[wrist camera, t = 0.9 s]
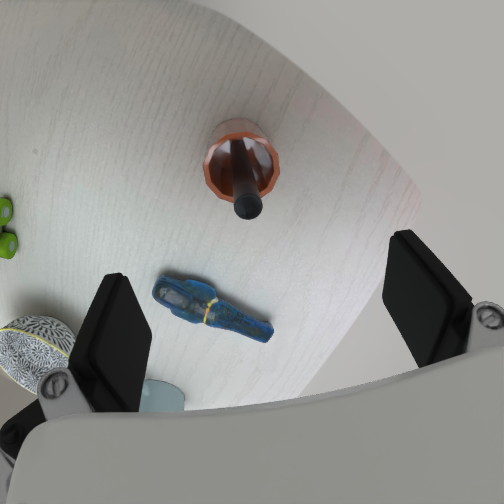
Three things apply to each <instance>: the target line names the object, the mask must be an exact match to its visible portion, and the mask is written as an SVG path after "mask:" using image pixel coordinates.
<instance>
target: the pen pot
mask: <svg viewBox="0 0 504 504" xmlns="http://www.w3.org/2000/svg"><path fill="white" fill-rule="evenodd" d="M236 140H240V141H242V142H244V143H245V145H246V149H247V152H248V156H249V159H250V163H251V166H252V170H253V173H254V177H255V180H256V184H257V187H258V191H259V193H260V197H261V198H262V197H263V196H264V195H266V194H267V193H269V192H270V191H271V190H272V189H273V187H274V185H275V182H276V180H277V178H278V176H279V174H280V169H279V159H278V154H277V152H276V150H275V149H274V147H273V146H272V144H271V143H270V141H269V140H268V138H267V137H266V135H265V134H264V133H263V131H262V130H261V129H260V128H259V126H258V125H257V124H255V123H253V122H251V121H249V120H246V119H231V120H227V121H225V122H223V123H221V124H220V125H219V126H218V127H216V129H215V130H213V132H212V134H211V137H210V140H209V142H208V145H207V149H206V153H205V157H204V162H203V170H204V176H205V181H206V184H207V186H208V187H209V188H210V189H211V190H212V191H213V192H214V193H215V194H216V196H217V197H218V198H220V199H223V200H226V201H229V202H232V203H234V201H233V183H232V170H231V156H230V145H231V143H232V142H234V141H236Z"/></svg>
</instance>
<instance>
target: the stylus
mask: <svg viewBox="0 0 504 504" xmlns="http://www.w3.org/2000/svg"><path fill="white" fill-rule="evenodd" d="M230 156H231V170H232V183H233V201H234V211H235V213H236V214H237V215H238V216H239V217H240V218H242V219H246V220H250V219H254V218H256V217H257V216H258V215H259V214H260V213H261V211H262V208H263V204H262V200H261V197H260V193H259V191H258V187H257V184H256V180H255V177H254V173H253V170H252V166H251V163H250V159H249V156H248V152H247V149H246V145H245V143H244V142H242V141H240V140H236V141H234V142H232V143H231V145H230Z"/></svg>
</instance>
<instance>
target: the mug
mask: <svg viewBox="0 0 504 504" xmlns="http://www.w3.org/2000/svg"><path fill="white" fill-rule="evenodd" d="M184 400H185V397H184V394H183V392H182V391H181V390H180V389H178V388H177V387H175V386H173V385H171V384H169V383H166V382H162V381H156V380H144V383H143V389H142V395H141V401H140V407H139V412H168V411H184Z"/></svg>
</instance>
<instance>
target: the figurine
mask: <svg viewBox="0 0 504 504" xmlns="http://www.w3.org/2000/svg"><path fill="white" fill-rule="evenodd" d="M152 296H153V298H154V299H155V300H156V301H157V302H159V303H160V304H161V305H163V306H165V307H167V308H170V310H171V312H172V313H173V314H174V315H175V316H178V317H180V318H182V319H184V320H187V321H189V322H191V323H194V324H197V323H204V324H206V325H208V326H210V327H215V328H221V329H225V330H230V331H234V332H237V333H240V334H242V335H244V336H247V337H249V338H251V339H254V340H256V341H259V342H262V343H266V342H268V341H269V340H270V338H271V337H272V335H273V333H274V328H273V326H272V325H271V323H270V322H268V321H266V322H262V321H260V320H257V319H255V318H254V317H252V316H250V315H248V314H246V313H244V312H242V311H240V310H239V309H237V308H236V307H234V306H233V305H231V304H230V303H228V302H226V301H225V300H222V299H221V298H219V297H216V290H215V289H214V288H213V287H211V286H210V285H208V284H205V283H203V282H199V281H195V280H185V281H184V282H183V281H179V280H176V279H173V278H171V277H168V276H160V277H159V278H158V279H157V281H156V283H155V285H154V287H153V290H152Z"/></svg>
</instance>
